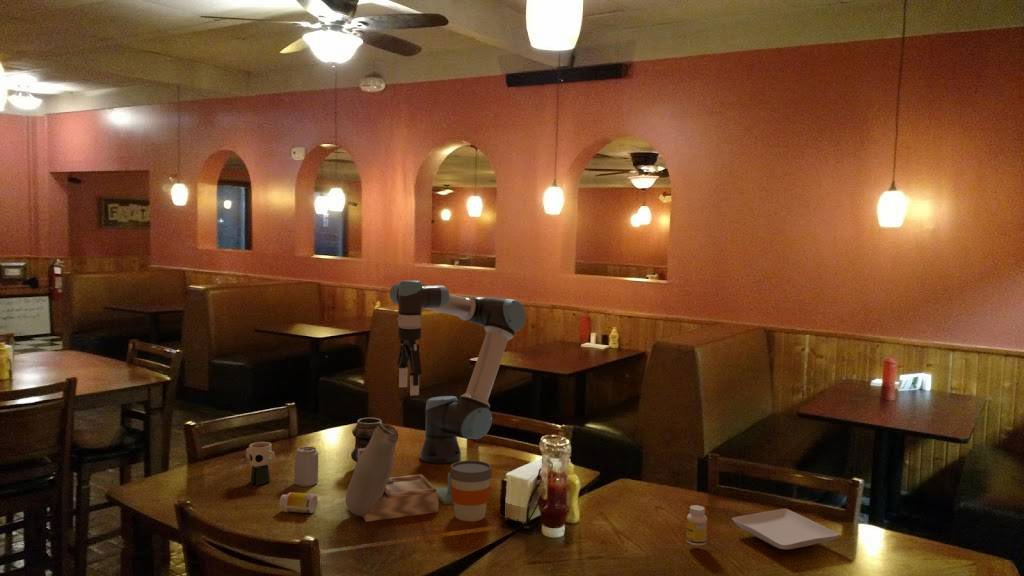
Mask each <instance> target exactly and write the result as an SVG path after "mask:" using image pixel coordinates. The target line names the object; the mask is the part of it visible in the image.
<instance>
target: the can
mask: <svg viewBox="0 0 1024 576" xmlns="http://www.w3.org/2000/svg"><path fill="white" fill-rule="evenodd" d="M318 482H319V452H318V451H317V448H316V447H314V446H301V447H299V448H297V449H296V452H295V454H294V484H295V485H297V486H298V487H300V488H301V487H302V488H306V487H307V488H308V487H313V486H315V485H316V484H317V483H318Z"/></svg>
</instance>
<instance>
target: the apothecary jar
mask: <svg viewBox="0 0 1024 576" xmlns="http://www.w3.org/2000/svg"><path fill="white" fill-rule="evenodd" d="M380 424H383V422H382V420H381V419H380V418H377V417H363V418H359V419H358V420H357V421H356V425H355V426H354V427H352V431H351V433H352V435H353V437H354V438H355V444H354V449H352V451H351V454H350V458H351V459H352V460H353V461H354V462H356V463H357V461H358V449H360V448H366V446H367V445H368V444H369V442H370V439H371V437H372V434H373V431H374V430H375V428H376V427H377V426H378V425H380Z"/></svg>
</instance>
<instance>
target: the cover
mask: <svg viewBox="0 0 1024 576" xmlns="http://www.w3.org/2000/svg"><path fill="white" fill-rule="evenodd" d="M451 483H452V482H451V477H450V471H449V472H447V486H445V487H437V488H436V487H435V488H436V491H437V492H438V493H439V495H438V500H440V501H441V502H442V503H443V504H444V505H450V504H454V502H453V501H452V495H451V486H450V485H451Z"/></svg>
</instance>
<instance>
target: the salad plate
mask: <svg viewBox="0 0 1024 576" xmlns="http://www.w3.org/2000/svg"><path fill="white" fill-rule="evenodd" d="M731 521H733V523H734V524H735V525H736V526H738V527H740V528H741V529H742V530H744V531H747V532H748V533H749V534H751V535H753V536H754V537H756V538H758V539H760V540H762V541H764V542H765V543H767V544H769V545H771V546H773V547H775V548H777V549H780V550H795V549H799V548H804V547H809V546H813V545H817V544H821V543H822V544H823V543H827V542H831V541H832V540H833V541H834V540H835V539H837V538H838V537H839V536H840V534H839V533H838V532H836V531H835V530H832V529H830V528H828V527H826V526H823V525H822V524H820V523H818V522H816V521H813V520H811V519H810V518H807V517H805V516H804V515H801V514H799V513H798V512H794V511H792V510H790V509H788V508H779V509H774V510H768V511H762V512H757V513H751V514H745V515H739V516H734V517H732V518H731Z"/></svg>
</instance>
